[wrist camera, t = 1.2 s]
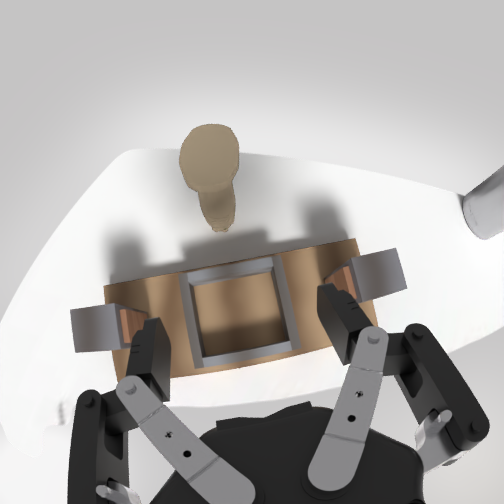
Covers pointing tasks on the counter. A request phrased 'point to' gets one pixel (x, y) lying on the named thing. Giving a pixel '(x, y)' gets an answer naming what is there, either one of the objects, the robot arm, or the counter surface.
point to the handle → (212, 171)
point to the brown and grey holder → (237, 307)
